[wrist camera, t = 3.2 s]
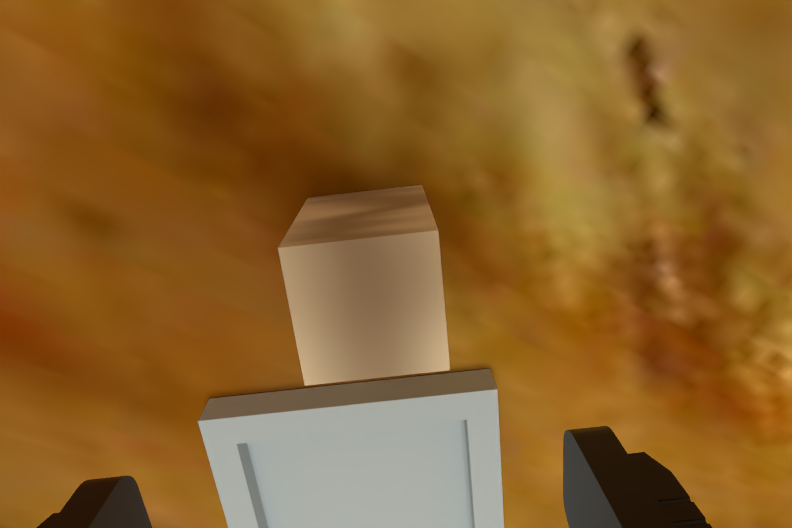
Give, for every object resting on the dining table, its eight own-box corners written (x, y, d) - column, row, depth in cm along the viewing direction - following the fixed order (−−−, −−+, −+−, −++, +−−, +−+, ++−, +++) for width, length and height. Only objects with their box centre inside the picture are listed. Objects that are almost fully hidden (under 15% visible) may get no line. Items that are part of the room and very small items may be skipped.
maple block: (422, 184, 23) (438, 230, 16) (431, 290, 24) (450, 370, 18) (307, 197, 23) (277, 247, 16) (325, 301, 24) (304, 385, 18)
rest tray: (489, 368, 26) (497, 389, 24) (500, 574, 31) (507, 604, 29) (209, 398, 26) (197, 421, 24) (264, 598, 31) (257, 629, 29)
